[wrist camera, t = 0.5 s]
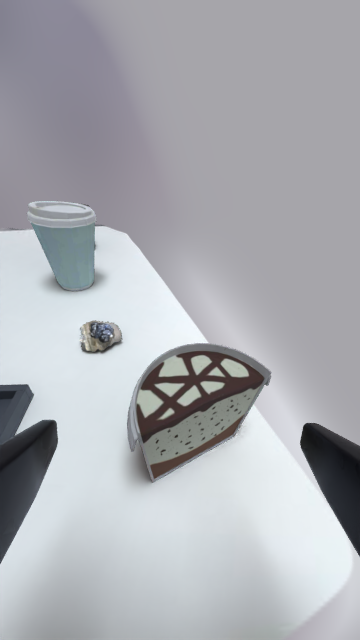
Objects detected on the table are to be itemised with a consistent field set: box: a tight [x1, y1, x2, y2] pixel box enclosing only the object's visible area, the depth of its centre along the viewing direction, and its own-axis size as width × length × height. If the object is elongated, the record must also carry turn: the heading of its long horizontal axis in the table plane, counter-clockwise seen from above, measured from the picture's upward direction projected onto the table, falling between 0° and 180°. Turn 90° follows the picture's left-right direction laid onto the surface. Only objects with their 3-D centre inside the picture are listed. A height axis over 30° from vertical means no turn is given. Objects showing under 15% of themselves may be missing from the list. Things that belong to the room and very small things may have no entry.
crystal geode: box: [79, 321, 122, 352], centre depth 34 cm, size 7×8×2 cm
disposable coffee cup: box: [27, 201, 96, 291], centre depth 42 cm, size 11×11×15 cm
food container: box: [127, 343, 271, 483], centre depth 21 cm, size 12×6×10 cm, turn 118°
